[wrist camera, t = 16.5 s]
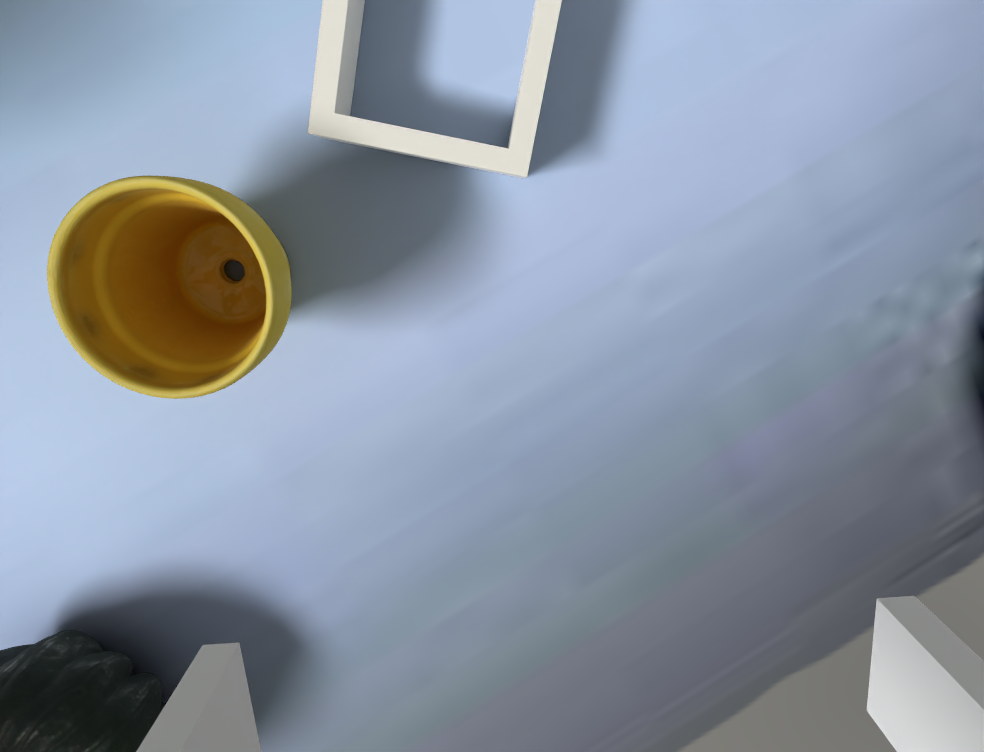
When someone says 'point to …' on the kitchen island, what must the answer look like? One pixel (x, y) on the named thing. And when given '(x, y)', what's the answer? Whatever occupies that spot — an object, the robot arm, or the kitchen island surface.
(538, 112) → the square holder
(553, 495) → the kitchen island surface
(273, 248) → the plant pot
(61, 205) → the kitchen island surface
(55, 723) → the squash
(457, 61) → the kitchen island surface
